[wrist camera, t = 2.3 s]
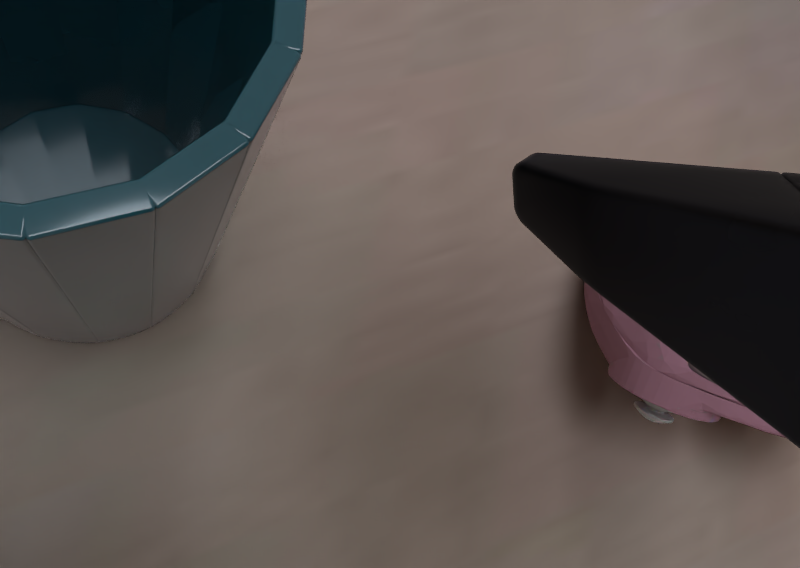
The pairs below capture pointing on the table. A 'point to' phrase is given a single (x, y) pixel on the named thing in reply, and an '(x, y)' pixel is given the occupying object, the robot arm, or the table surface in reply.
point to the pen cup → (128, 150)
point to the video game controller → (659, 372)
